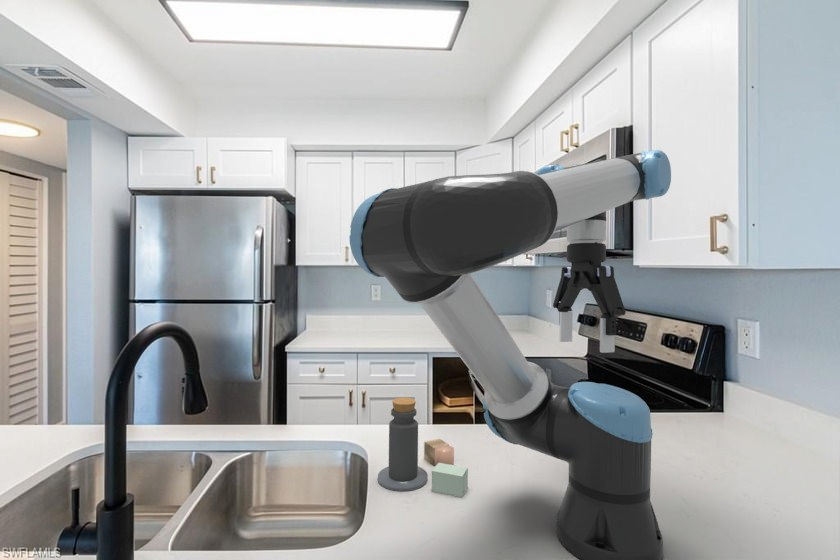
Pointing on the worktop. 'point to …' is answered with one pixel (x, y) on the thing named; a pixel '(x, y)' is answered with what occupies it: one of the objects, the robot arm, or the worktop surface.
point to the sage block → (450, 479)
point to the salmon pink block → (444, 454)
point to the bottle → (403, 440)
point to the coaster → (402, 485)
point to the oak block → (432, 449)
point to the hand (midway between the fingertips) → (585, 346)
